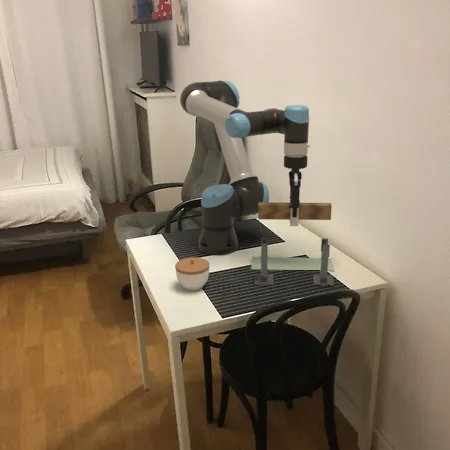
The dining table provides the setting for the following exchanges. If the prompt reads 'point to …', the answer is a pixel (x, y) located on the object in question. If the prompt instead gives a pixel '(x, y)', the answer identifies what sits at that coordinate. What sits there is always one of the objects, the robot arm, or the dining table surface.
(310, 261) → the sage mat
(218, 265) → the dining table surface
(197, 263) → the lidded jar
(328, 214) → the walnut bar
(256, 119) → the robot arm
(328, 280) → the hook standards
